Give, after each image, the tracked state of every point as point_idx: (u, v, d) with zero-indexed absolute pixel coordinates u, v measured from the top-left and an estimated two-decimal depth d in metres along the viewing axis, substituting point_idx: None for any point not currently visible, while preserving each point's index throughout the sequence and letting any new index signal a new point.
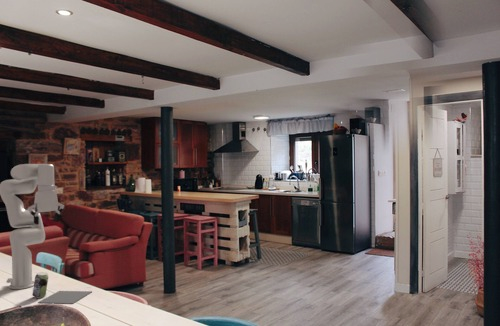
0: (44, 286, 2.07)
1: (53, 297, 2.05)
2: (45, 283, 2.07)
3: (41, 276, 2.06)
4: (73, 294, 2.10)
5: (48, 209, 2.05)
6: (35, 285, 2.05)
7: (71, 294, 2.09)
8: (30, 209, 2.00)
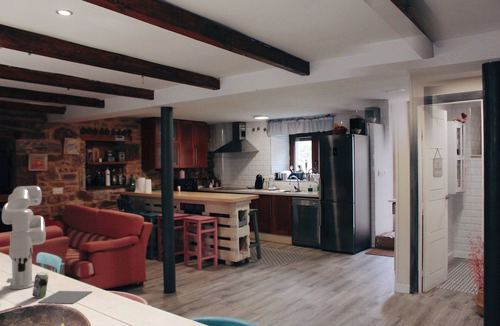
0: (44, 286, 2.07)
1: (53, 297, 2.05)
2: (45, 283, 2.07)
3: (41, 276, 2.06)
4: (73, 294, 2.10)
5: None
6: (35, 285, 2.05)
7: (71, 294, 2.09)
8: None
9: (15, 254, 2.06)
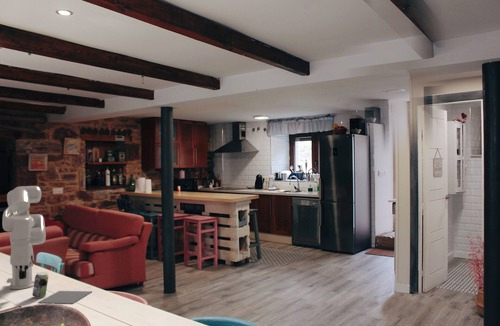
0: (44, 286, 2.07)
1: (53, 297, 2.05)
2: (45, 283, 2.07)
3: (41, 276, 2.06)
4: (73, 294, 2.10)
5: None
6: (35, 285, 2.05)
7: (71, 294, 2.09)
8: None
9: (16, 261, 2.06)
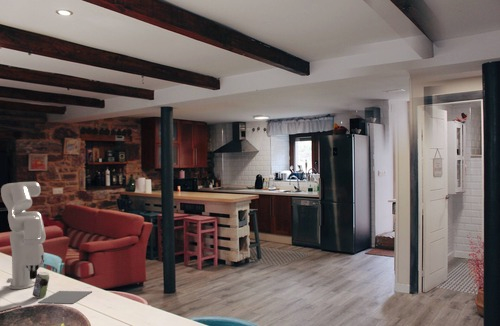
0: (45, 286, 2.07)
1: (53, 297, 2.05)
2: (46, 283, 2.07)
3: (42, 276, 2.06)
4: (73, 294, 2.10)
5: None
6: (36, 285, 2.05)
7: (71, 294, 2.09)
8: None
9: (27, 261, 2.06)
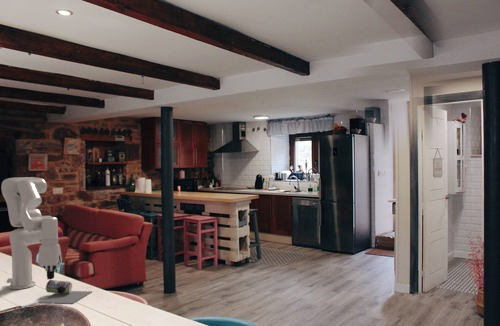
0: (57, 291, 2.08)
1: (53, 297, 2.05)
2: (60, 292, 2.09)
3: (67, 288, 2.09)
4: (73, 294, 2.10)
5: None
6: (59, 283, 2.09)
7: (71, 294, 2.09)
8: None
9: (44, 261, 2.05)
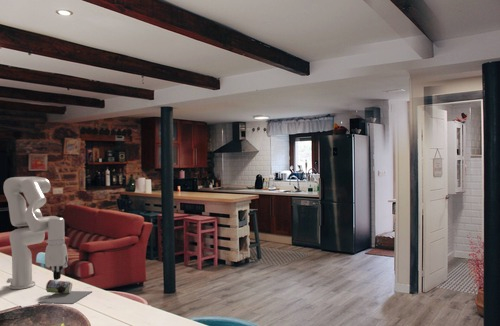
0: (57, 291, 2.09)
1: (53, 297, 2.05)
2: (60, 292, 2.09)
3: (68, 288, 2.09)
4: (73, 294, 2.10)
5: None
6: (59, 282, 2.10)
7: (71, 294, 2.09)
8: None
9: (51, 262, 2.04)
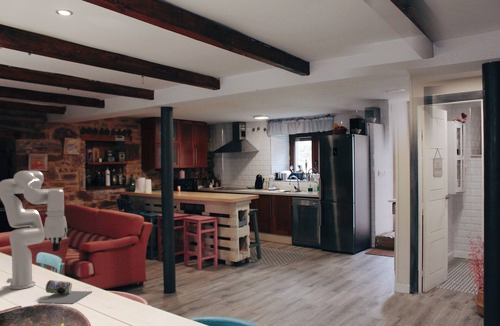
0: (56, 292, 2.08)
1: (53, 297, 2.05)
2: (60, 292, 2.09)
3: (67, 289, 2.09)
4: (73, 294, 2.10)
5: None
6: (58, 284, 2.09)
7: (71, 294, 2.09)
8: None
9: (50, 233, 2.05)
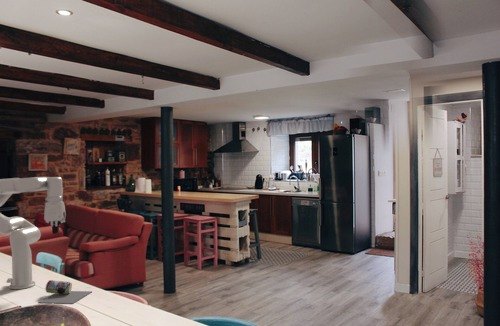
0: (56, 292, 2.08)
1: (53, 297, 2.05)
2: (60, 292, 2.09)
3: (67, 289, 2.09)
4: (73, 294, 2.10)
5: None
6: (58, 284, 2.09)
7: (71, 294, 2.09)
8: None
9: (50, 217, 2.22)
